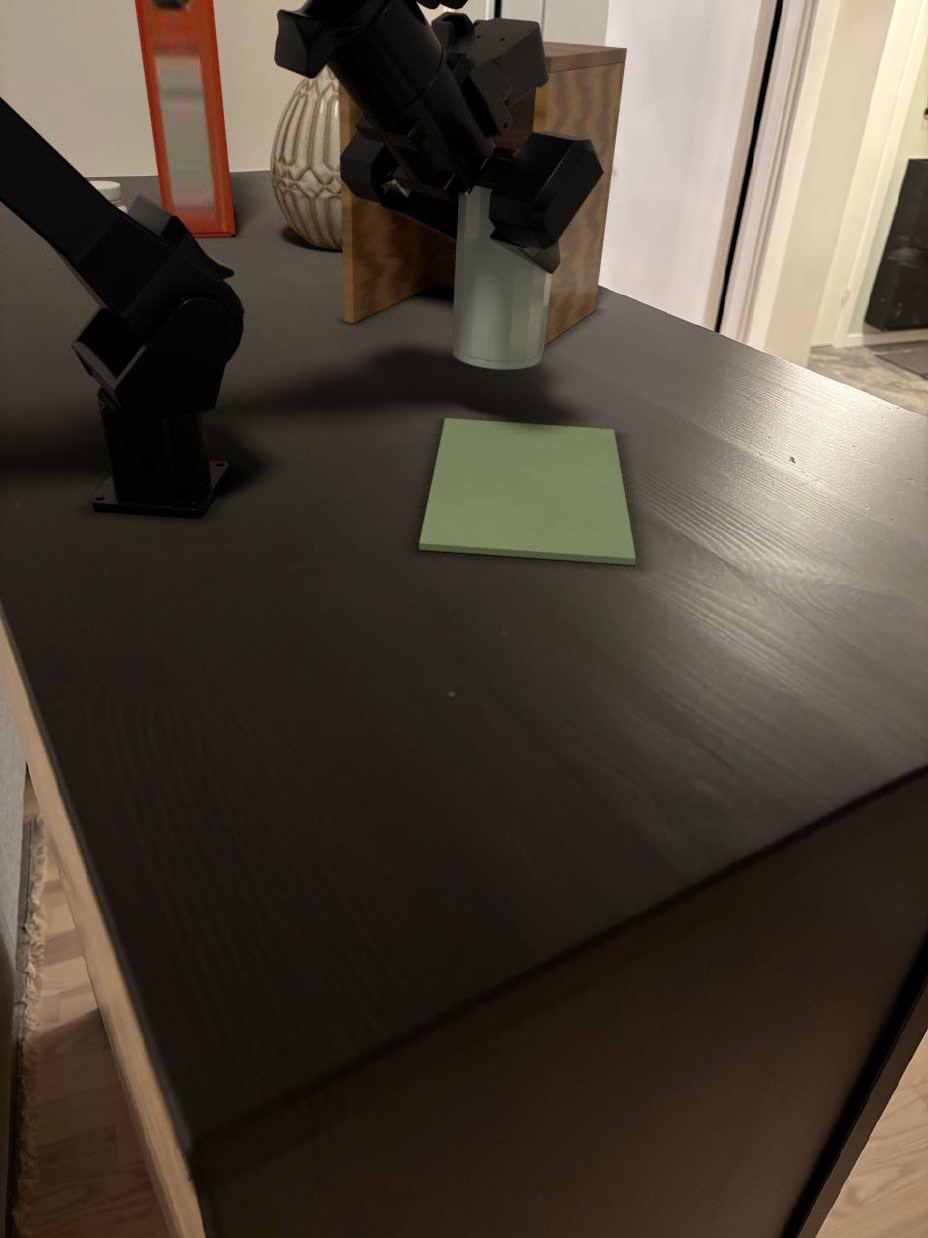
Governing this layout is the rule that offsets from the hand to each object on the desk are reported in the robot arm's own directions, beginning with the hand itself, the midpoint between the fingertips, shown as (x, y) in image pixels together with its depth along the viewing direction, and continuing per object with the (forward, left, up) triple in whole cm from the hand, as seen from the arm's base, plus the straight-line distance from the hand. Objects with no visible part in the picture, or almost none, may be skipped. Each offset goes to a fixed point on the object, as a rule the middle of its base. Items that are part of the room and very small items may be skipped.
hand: (518, 256), depth 66 cm
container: (-1, +1, -7) cm, 7 cm away
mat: (-14, -2, -11) cm, 18 cm away
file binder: (+53, +39, -11) cm, 67 cm away
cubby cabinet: (+21, +4, -11) cm, 24 cm away
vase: (+47, +20, -11) cm, 52 cm away
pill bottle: (+27, +40, -11) cm, 50 cm away
